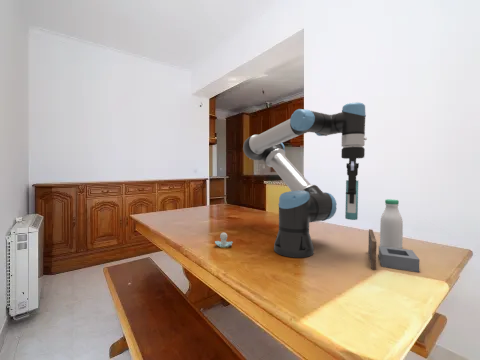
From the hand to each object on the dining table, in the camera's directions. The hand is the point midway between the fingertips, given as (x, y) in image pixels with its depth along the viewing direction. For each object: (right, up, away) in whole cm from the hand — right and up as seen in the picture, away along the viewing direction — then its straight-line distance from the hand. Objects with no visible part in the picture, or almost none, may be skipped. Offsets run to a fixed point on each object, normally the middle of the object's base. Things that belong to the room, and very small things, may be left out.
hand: (351, 211), depth 84 cm
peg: (0, -3, 0) cm, 3 cm away
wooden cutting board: (+6, -17, -3) cm, 18 cm away
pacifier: (-47, -17, +12) cm, 52 cm away
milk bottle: (+21, -17, +11) cm, 29 cm away
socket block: (+13, -17, -6) cm, 22 cm away
